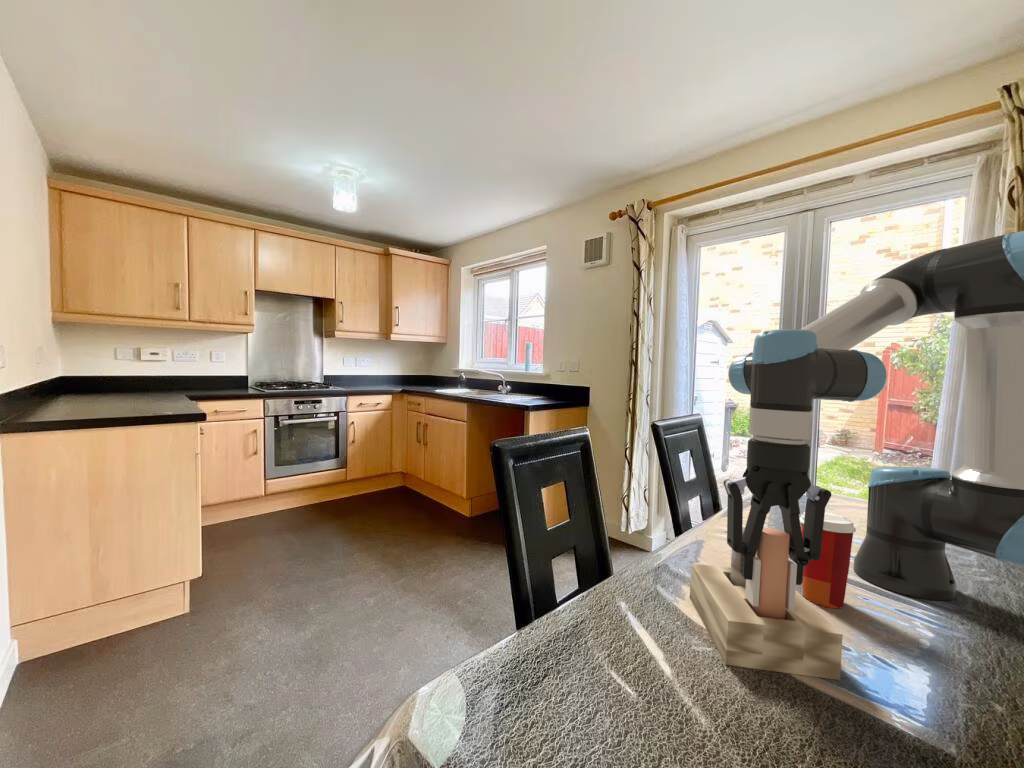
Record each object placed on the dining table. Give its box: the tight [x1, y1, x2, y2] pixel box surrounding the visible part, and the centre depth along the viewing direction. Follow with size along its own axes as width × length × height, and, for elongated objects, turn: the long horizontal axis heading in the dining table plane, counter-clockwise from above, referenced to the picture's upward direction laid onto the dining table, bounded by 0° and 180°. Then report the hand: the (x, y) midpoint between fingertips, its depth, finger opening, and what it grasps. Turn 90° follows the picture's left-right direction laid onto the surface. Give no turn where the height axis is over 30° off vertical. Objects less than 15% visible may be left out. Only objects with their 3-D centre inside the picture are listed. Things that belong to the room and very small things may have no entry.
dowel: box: [752, 526, 790, 620], centre depth 61 cm, size 4×4×14 cm
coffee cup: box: [799, 511, 857, 609], centre depth 76 cm, size 8×8×15 cm
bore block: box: [689, 526, 843, 681], centre depth 65 cm, size 14×18×14 cm
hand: (769, 603), depth 61 cm, fingers closed on dowel, 4 cm apart
